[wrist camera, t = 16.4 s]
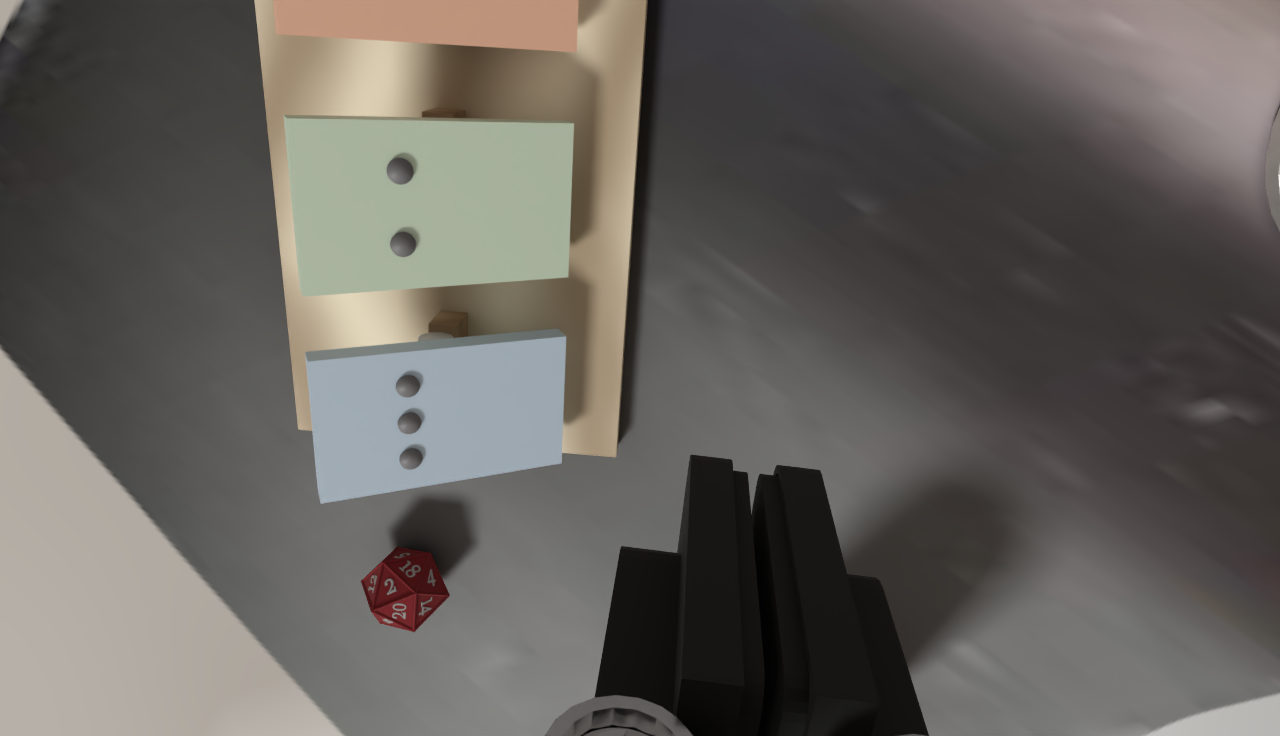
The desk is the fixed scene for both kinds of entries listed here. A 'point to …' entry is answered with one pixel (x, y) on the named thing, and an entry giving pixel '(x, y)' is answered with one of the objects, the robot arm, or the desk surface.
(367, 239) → the tile
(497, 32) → the tile
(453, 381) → the tile
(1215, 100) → the desk surface
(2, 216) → the desk surface
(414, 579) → the dice
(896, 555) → the desk surface
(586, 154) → the board
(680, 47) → the desk surface
